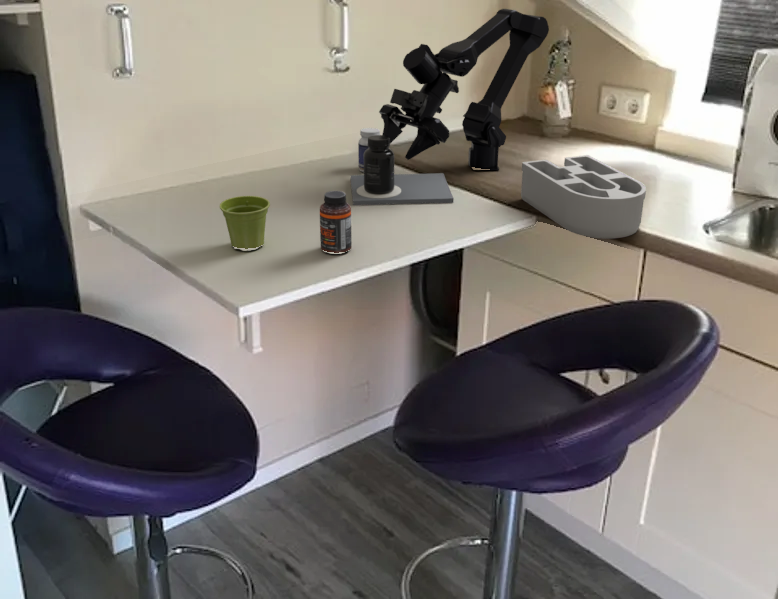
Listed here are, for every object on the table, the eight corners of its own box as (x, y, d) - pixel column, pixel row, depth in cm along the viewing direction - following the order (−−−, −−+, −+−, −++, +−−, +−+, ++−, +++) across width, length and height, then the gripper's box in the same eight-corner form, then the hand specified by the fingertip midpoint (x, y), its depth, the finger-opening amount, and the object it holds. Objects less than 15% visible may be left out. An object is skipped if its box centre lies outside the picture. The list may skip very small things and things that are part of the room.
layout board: (443, 177, 205) (443, 172, 204) (453, 202, 189) (453, 197, 188) (350, 179, 204) (350, 174, 203) (353, 205, 187) (352, 199, 187)
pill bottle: (381, 173, 208) (381, 133, 203) (357, 173, 208) (357, 133, 203) (382, 166, 213) (382, 126, 208) (359, 166, 213) (358, 126, 208)
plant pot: (277, 252, 164) (274, 209, 160) (228, 258, 161) (224, 215, 157) (266, 234, 172) (264, 193, 168) (219, 240, 169) (215, 198, 165)
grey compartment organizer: (584, 191, 196) (588, 154, 193) (657, 234, 173) (663, 193, 169) (518, 199, 191) (521, 162, 188) (584, 245, 168) (589, 203, 164)
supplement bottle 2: (400, 191, 192) (400, 138, 187) (375, 197, 188) (374, 143, 183) (383, 183, 197) (382, 131, 192) (358, 189, 193) (357, 136, 188)
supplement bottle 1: (314, 252, 164) (312, 195, 159) (332, 241, 168) (330, 186, 163) (340, 258, 161) (338, 201, 156) (357, 248, 166) (356, 191, 161)
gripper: (385, 68, 194) (347, 124, 192) (440, 81, 181) (400, 142, 179) (411, 97, 202) (375, 152, 200) (466, 112, 189) (428, 171, 187)
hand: (393, 154), depth 192 cm, fingers open, 9 cm apart
